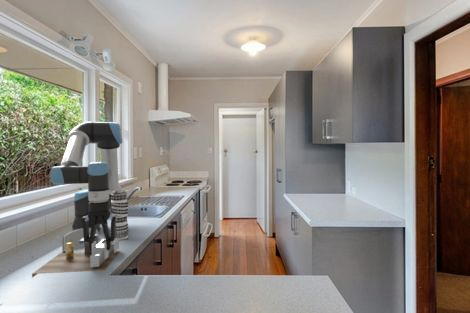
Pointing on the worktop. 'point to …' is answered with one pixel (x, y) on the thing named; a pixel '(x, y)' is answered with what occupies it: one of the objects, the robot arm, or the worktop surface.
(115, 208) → the decorative candle
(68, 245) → the brass rounded cylinder
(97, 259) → the link
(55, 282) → the worktop surface
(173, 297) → the worktop surface
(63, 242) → the grey curved arch block
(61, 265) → the board
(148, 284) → the worktop surface
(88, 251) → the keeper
